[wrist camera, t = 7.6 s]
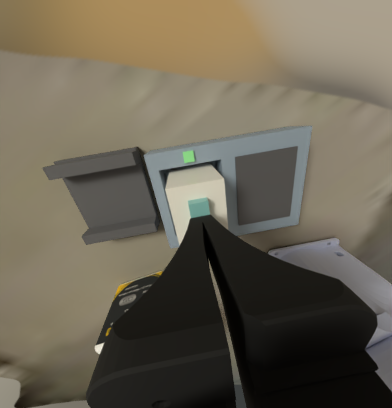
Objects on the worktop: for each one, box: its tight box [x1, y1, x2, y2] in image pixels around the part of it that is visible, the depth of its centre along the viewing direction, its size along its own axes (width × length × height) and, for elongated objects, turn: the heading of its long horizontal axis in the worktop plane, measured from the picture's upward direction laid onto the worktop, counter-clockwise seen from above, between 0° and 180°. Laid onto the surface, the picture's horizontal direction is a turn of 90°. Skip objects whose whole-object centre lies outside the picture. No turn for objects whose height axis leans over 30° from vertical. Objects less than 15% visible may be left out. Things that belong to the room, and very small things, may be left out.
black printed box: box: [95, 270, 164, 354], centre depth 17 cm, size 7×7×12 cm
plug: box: [165, 162, 228, 246], centre depth 13 cm, size 4×5×7 cm
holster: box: [43, 147, 160, 245], centre depth 15 cm, size 7×8×2 cm
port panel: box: [144, 126, 312, 248], centre depth 15 cm, size 13×9×3 cm
